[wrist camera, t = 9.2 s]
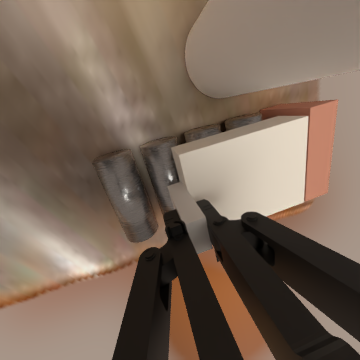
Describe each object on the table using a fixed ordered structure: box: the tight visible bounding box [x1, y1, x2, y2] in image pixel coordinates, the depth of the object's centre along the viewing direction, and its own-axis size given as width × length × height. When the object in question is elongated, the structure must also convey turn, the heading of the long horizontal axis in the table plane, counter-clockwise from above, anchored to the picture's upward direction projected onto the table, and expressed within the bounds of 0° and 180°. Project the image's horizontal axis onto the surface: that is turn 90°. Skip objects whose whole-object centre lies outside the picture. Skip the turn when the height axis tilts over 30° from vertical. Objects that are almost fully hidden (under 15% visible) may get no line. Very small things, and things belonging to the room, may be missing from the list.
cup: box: [185, 0, 360, 98], centre depth 12 cm, size 8×8×16 cm
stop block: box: [260, 100, 338, 201], centre depth 21 cm, size 3×10×7 cm, turn 14°
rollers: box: [92, 113, 262, 243], centre depth 21 cm, size 19×10×4 cm, turn 104°
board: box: [171, 116, 308, 220], centre depth 18 cm, size 12×9×4 cm
